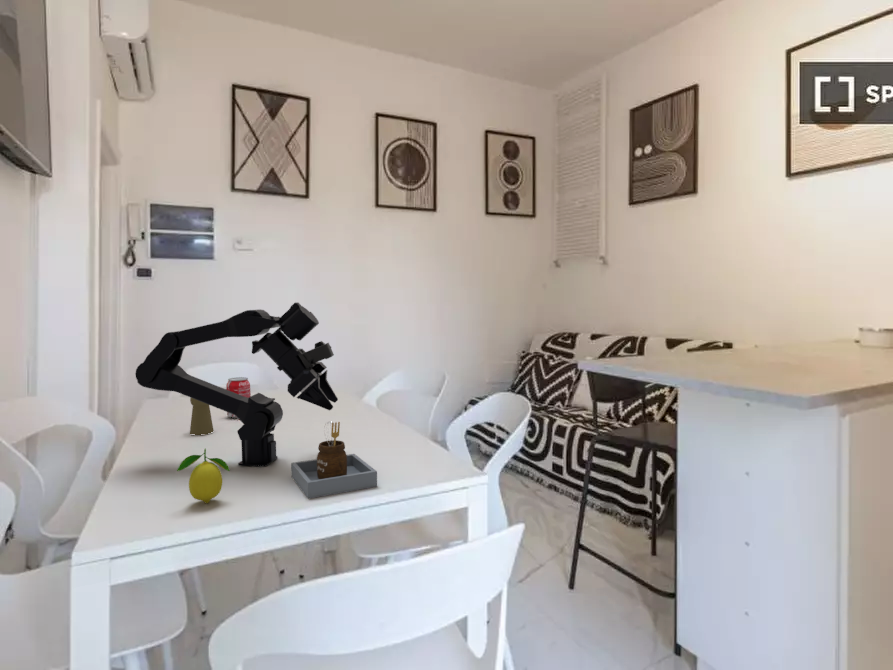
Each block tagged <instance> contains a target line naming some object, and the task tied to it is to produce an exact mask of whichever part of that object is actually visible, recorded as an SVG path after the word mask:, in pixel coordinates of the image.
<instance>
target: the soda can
mask: <svg viewBox="0 0 893 670" xmlns="http://www.w3.org/2000/svg"><path fill="white" fill-rule="evenodd" d="M225 385H226V387H225V389H226V390H229V391H231V392H234V393H236V394H239V395H241V396H244V397H248V398H249V397H251V396H252V395H251V393H252V392H251V383H250V382H249V378H248V377H242V376H241V377H240V376H239V377H231V378H230V377H229V378H228V379H227V383H226V384H225ZM226 414H227V416H228V417H229V418H231V417H232V418H231V419H234V418H237V417H236V416H235V415H234V414H231V413H229V412H226Z"/></svg>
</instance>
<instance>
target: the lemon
mask: <svg viewBox="0 0 893 670" xmlns="http://www.w3.org/2000/svg"><path fill="white" fill-rule="evenodd" d="M203 449H204V452H203V453H202V454H199V455H198V454H191V455H190V456H186V457H185V458H184V459H183V460H182V461H181V463H180V464H179V466H178V467H177V469H176V471H177V472H179V471H183V470H185V469H187V468H188V467H190V466H192V464H194V463H196V462H197V461H198V460H199V459H200V458H201V457H202V456H203V458H204V460H203V461H202V462H201V463H198V465H196V466H195V467H194V468H193V469H192V471H191V473H190V477H189V481H188V490H189V493H190V495H191V496H192V498H193V499H195V500H197V501H201V502H204V503H205V504H209V503H210V501H211V500H213V499H214V498H215V497H217V496H219V494H220V492H221V490H222V487H223V475H222V472H221V470H220V468H222V469H223V470H226V471H228V472H230V467H229V465H228V464H227V463H226V461H224V460H223V459H222V458H219V457H212V458H209V457H208V456H207V452H206V451H207V448H203ZM207 459H208V460H209V461H208V460H207ZM218 466H219V467H220V468H219V467H218Z"/></svg>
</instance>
